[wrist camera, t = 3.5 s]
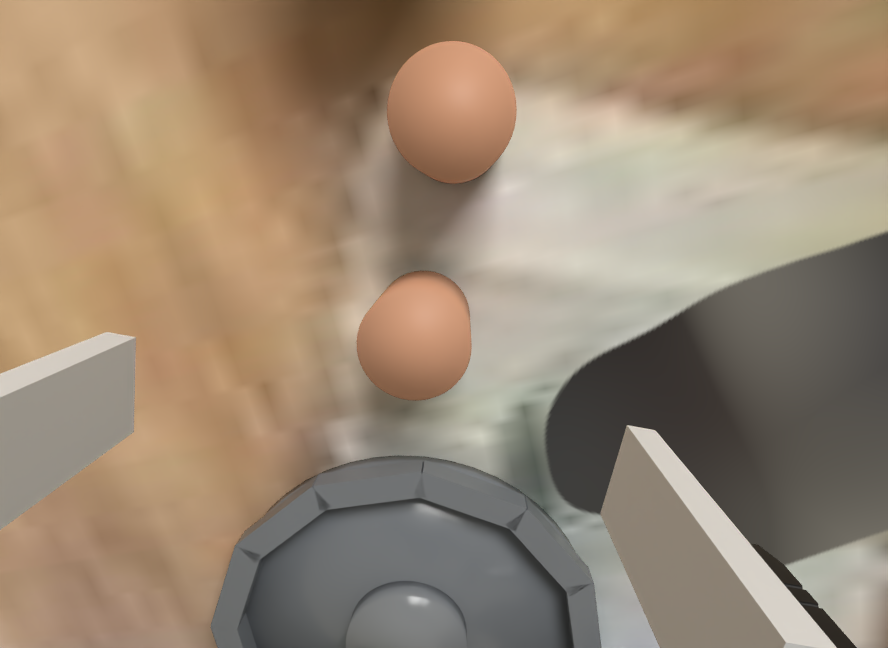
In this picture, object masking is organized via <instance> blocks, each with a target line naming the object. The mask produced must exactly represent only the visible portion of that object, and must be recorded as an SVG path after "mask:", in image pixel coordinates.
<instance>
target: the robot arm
mask: <svg viewBox="0 0 888 648" xmlns="http://www.w3.org/2000/svg"><path fill="white" fill-rule="evenodd" d="M135 352H136V337H131V336H126V335H120V334H115V333H109V332H106V333H103V334H100V335H98V336H95V337H93V338H90V339H88V340H85V341H83V342H80V343H77V344H75V345H72V346H70V347H67V348H65V349H62V350H60V351H57V352H55V353H52V354H49V355H47V356H44V357H42V358H39V359H37V360H34V361H32V362H29V363H26V364H24V365H21V366H19V367H16V368H14V369H11V370H9V371H6V372H4V373H1V374H0V530H1V529H2V528H3V527H5V526H6V525H7V524H9V523H10V522H12V521H13V520H14V519H16V518H17V517H18V516H20V515H21V514H23V513H24V512H25V511H27V510H28V509H29V508H31V507H32V506H33V505H35V504H36V503H38V502H39V501H40V500H42V499H43V498H44V497H46V496H47V495H48V494H50V493H51V492H53V491H54V490H55V489H57V488H58V487H59V486H61V485H62V484H63V483H65V482H66V481H68V480H69V479H70V478H72V477H73V476H74V475H76V474H77V473H78V472H80V471H81V470H83V469H84V468H85V467H87V466H88V465H89V464H91V463H92V462H93V461H95V460H96V459H98V458H99V457H100V456H102V455H103V454H104V453H106V452H107V451H108V450H110V449H111V448H113V447H114V446H115V445H117V444H118V443H119V442H121V441H122V440H123V439H125V438H126V437H128V436H129V435H130V434H132V433H133V432H134V396H135ZM601 516H602V519H603V521H604V523H605V525H606V528H607V530H608V532H609V534H610V536H611V539H612V541H613V543H614V545H615V548H616V550H617V552H618V554H619V557H620V559H621V561H622V563H623V566H624V568H625V570H626V572H627V575H628V577H629V579H630V581H631V584H632V586H633V588H634V590H635V593H636V595H637V597H638V599H639V602H640V604H641V606H642V608H643V611H644V613H645V615H646V617H647V620H648V622H649V624H650V626H651V628H652V631H653V633H654V635H655V637H656V640H657V642H658V644H659V646H660V648H857V647H856V646H855V645H854V644H853V643H852V642H851V641H850V639H849V638H848V637H847V636H846V635H845V634H844V633H843V632H842V630H841V629H840V628H839V627H838V626H837V625H836V624H835V622H834V621H833V620H832V619H831V618H830V617H829V616H828V614H827V613H826V612H825V611H824V610H823V609H821V608H819V607H818V603H817V602H816V601H815V600H814V599H813V597H812V596H811V595H810V594H809V593H808V592H807V591H806V590H803V589H802V585H801V584H800V583H799V581H798V580H797V579H796V578H795V577H794V576H793V575H792V574H791V572H790V571H789V570H788V569H787V568H786V567H785V566H784V565H783V564H782V563H781V562H780V561H778V560H777V559H776V558H774V557H773V556H772V555H771V554H769V553H768V552H767V551H765V550H764V549H763V548H761V547H760V546H759V545H756V544H750V543H749V542H748V541H747V540H746V539H745V537H744V536H743V535H742V534H741V532H740V531H739V530H738V529H737V528H736V526H735V525H734V524H733V523H732V522H731V521H730V519H729V518H728V517H727V516H726V515H725V513H724V512H723V511H722V510H721V509H720V507H719V506H718V505H717V504H716V503H715V501H714V500H713V499H712V498H711V497H710V496H709V494H708V493H707V492H706V491H705V489H704V488H703V487H702V486H701V485H700V484H699V482H698V481H697V480H696V479H695V477H694V476H693V475H692V474H691V473H690V471H689V470H688V469H687V468H686V467H685V465H684V464H683V463H682V462H681V461H680V459H679V458H678V457H677V456H676V455H675V453H674V452H673V451H672V450H671V449H670V447H669V446H668V445H667V444H666V443H665V441H664V440H663V439H662V438H661V437H660V435H659V434H658V433H657V432H656V431H655V430H651V429H645V428H639V427H634V426H628V425H627V427H626V430H625V434H624V437H623V441H622V444H621V447H620V451H619V454H618V457H617V460H616V464H615V467H614V471H613V474H612V477H611V480H610V484H609V487H608V491H607V494H606V497H605V500H604V504H603V507H602V510H601Z"/></svg>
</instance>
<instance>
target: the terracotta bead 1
mask: <svg viewBox="0 0 888 648" xmlns="http://www.w3.org/2000/svg"><path fill="white" fill-rule="evenodd" d="M387 118H388V125H389V129H390V133H391V136H392V139H393V141H394V143H395V145H396V147H397V149H398V150H399V152H400V153H401V155H402V156H403V157H404V158H405V159H406V160H407V161H408V163H410V164H411V165H412V166H413V167H414V168H416V169H417V170H419V171H420V172H422V173H424V174H425V175H427V176H429V177H431V178H433V179H435V180H437V181H440V182H444V183H451V184H457V183H464V182H468V181H471V180H473V179H475V178H477V177H479V176H481V175H482V174H483V173H485V172H486V171H487V170H488V169H489V168H490V167H491V166H492V165H493V164H494V163H495V161H496V160H497V159H498V158H499V157H500V156H501V154H502V153H503V152H504V150H505V148H506V147H507V145H508V143H509V141H510V139H511V137H512V134H513V130H514V127H515V121H516V98H515V93H514V89H513V86H512V83H511V81H510V79H509V77H508V75H507V73H506V71H505V70H504V68H503V67H502V66H501V64H500V63H499V62H498V61H497V60H496V59H495V58H494V57H493V56H492V55H491V54H489V53H488V52H486V51H485V50H483V49H481V48H479V47H477V46H475V45H472V44H469V43H466V42H460V41H446V42H439V43H436V44H432V45H430V46H427V47H425V48H423V49H422V50H420V51H418V52H417V53H415V54H414V55H413V56H412V57H411V58H409V59H408V60H407V62H406V63H405V64H404V65H403V66H402V68H401V69H400V70H399V72H398V73H397V75H396V77H395V79H394V81H393V84H392V86H391V89H390V93H389V97H388V105H387Z"/></svg>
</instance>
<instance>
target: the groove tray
mask: <svg viewBox="0 0 888 648" xmlns="http://www.w3.org/2000/svg"><path fill="white" fill-rule="evenodd" d="M211 630H212V633H213V635H214V638H215V641H216V644H217V647H218V648H601V640H600V632H599V623H598V615H597V606H596V598H595V589H594V583H593V580H592V577H591V574H590V571H589V568H588V566H587V565H586V564H585V563H584V562H583V560H582V559H581V558H580V557H579V556H578V555H577V554H576V553H575V551H574V549H573V547H572V545H571V544H570V542H569V540H568V538H567V537H566V536H565V534H564V533H563V532H562V530H561V529H560V528H559V526H558V525H557V524H556V522H555V521H554V520H553V519H552V518H551V517H550V516H549V515H548V514H547V513H546V512H545V511H544V510H543V509H542V508H541V507H540V506H539V505H538V504H537V503H535V502H534V501H533V500H531V499H530V498H529V497H527V496H526V495H525V494H523V493H522V492H521V491H519V490H518V489H516V488H515V487H513V486H511V485H509V484H508V483H506V482H504V481H502V480H501V479H499V478H497V477H495V476H492V475H490V474H488V473H485V472H483V471H481V470H478V469H476V468H473V467H470V466H466V465H463V464H459V463H456V462H452V461H448V460H442V459H435V458H429V457H419V456H388V457H375V458H369V459H364V460H360V461H355V462H350V463H347V464H344V465H341V466H338V467H335V468H332V469H329V470H326V471H324V472H322V473H320V474H318V475H316V476H314V477H312V478H310V479H308V480H306V481H304V482H303V483H301V484H300V485H298V486H297V487H295V488H294V489H292V490H291V491H289V492H288V493H286V494H285V495H284V496H283V497H282V498H281V499H280V500H279V501H277V502H276V503H275V504H274V505H273V506H272V507H271V508H270V509H269V510H268V511H267V513H266V514H265V515H264V516H263V517H262V518H261V519H260V520H258V521H257V522H256V523H255V524H253V525H252V526H251V527H249V528H248V529H247V530H245V532H244V533H243V535H242V536H241V538H240V539H239V541H238V542H237V544H236V545H235V548H234V551H233V554H232V558H231V561H230V564H229V568H228V571H227V574H226V577H225V581H224V584H223V587H222V590H221V594H220V597H219V600H218V604H217V607H216V610H215V613H214V617H213V620H212V623H211Z"/></svg>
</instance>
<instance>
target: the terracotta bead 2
mask: <svg viewBox="0 0 888 648" xmlns="http://www.w3.org/2000/svg"><path fill="white" fill-rule="evenodd" d="M357 352H358V357H359V361H360V364H361V366H362V368H363V370H364V372H365V373H366V375H367V376H368V377H369V379H370V380H371V381H372V382H373V383H374V384H375V385H376V386H377V387H379V388H380V389H381V390H383V391H384V392H386V393H388V394H390V395H392V396H394V397H398V398H401V399H406V400H425V399H430V398H433V397H436V396H439V395H441V394H443V393H445V392H446V391H448V390H449V389H451V388H452V387H453V386H454V385H455V384H456V383H457V382H458V381H459V380H460V379H461V377H462V376H463V374H464V373H465V371H466V369H467V367H468V364H469V361H470V356H471V329H470V313H469V306H468V303H467V300H466V297H465V296H464V294H463V292H462V291H461V289H460V288H459V287H458V286H457V285H456V284H455V283H454V282H453V281H452V280H451V279H449V278H447V277H446V276H444V275H441V274H439V273H436V272H431V271H415V272H410V273H407V274H405V275H403V276H401V277H399V278H398V279H396V280H395V281H394V282H392V283H391V284H390V285H389V287H388V288H387V289H386V290H385V291H384V293H383V294H382V295H381V296H380V297H379V299H378V300H377V301H376V302H375V303H374V305H373V306H372V307H371V308H370V310H369V311H368V312H367V313H366V315H365V316H364V318H363V320H362V322H361V324H360V327H359V331H358V335H357Z"/></svg>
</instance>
